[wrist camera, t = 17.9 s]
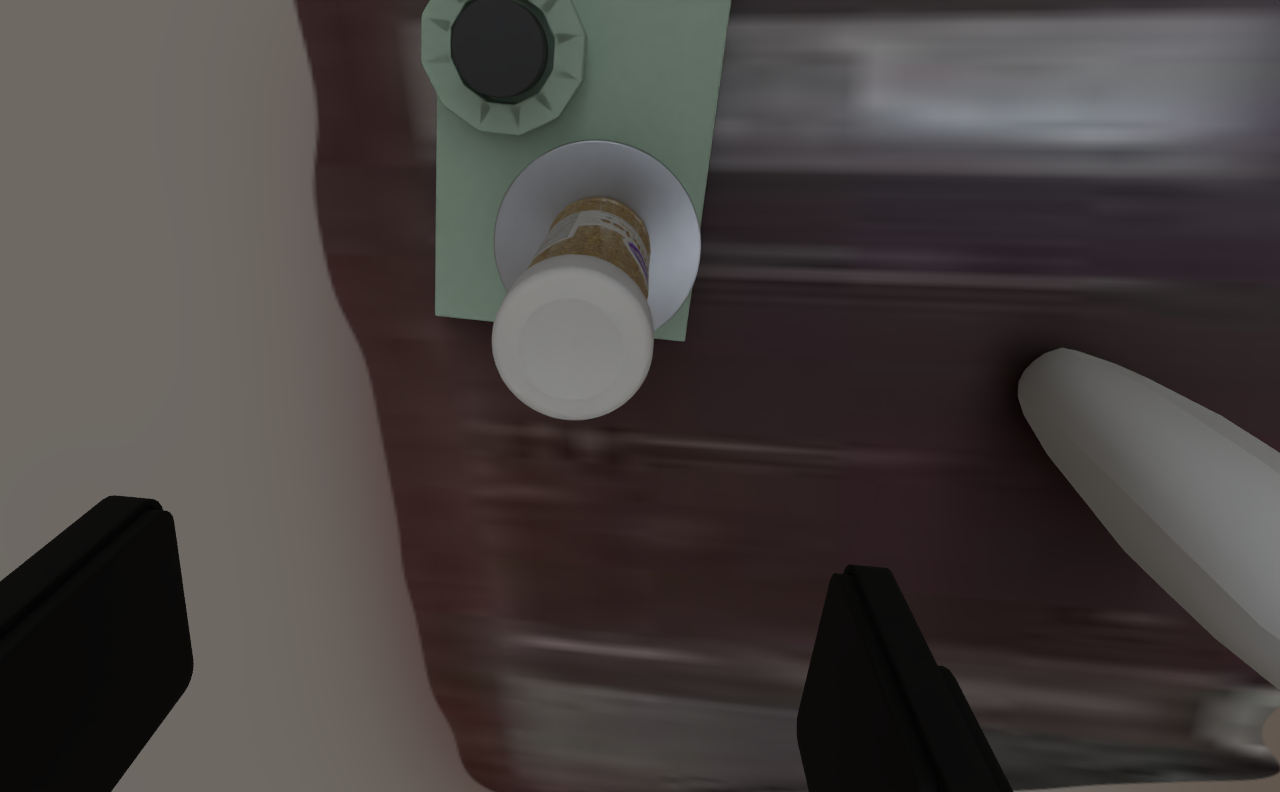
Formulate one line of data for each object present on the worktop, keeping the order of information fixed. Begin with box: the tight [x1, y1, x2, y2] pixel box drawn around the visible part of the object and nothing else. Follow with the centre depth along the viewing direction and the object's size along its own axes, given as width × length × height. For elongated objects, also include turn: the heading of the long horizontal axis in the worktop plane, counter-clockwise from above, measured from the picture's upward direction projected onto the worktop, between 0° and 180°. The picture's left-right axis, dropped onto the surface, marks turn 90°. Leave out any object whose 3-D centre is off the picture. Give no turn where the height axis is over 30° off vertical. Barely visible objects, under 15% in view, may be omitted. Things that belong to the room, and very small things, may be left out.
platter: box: [494, 139, 702, 331], centre depth 34 cm, size 9×9×1 cm
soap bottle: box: [1018, 348, 1280, 690], centre depth 29 cm, size 14×8×27 cm, turn 47°
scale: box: [421, 0, 731, 341], centre depth 35 cm, size 16×12×3 cm
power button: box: [451, 0, 548, 98], centre depth 31 cm, size 4×4×2 cm
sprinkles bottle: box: [492, 197, 654, 420], centre depth 28 cm, size 5×4×14 cm
